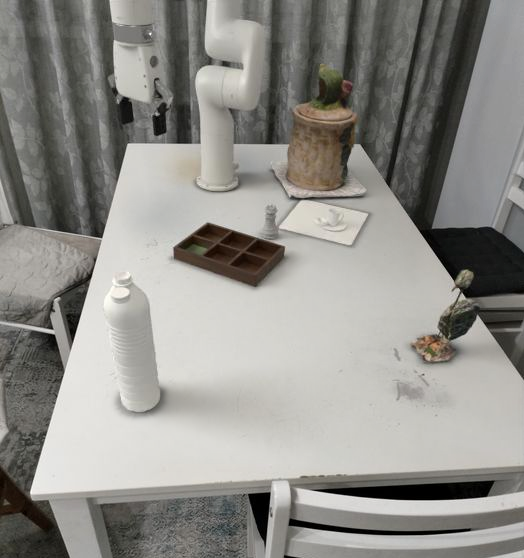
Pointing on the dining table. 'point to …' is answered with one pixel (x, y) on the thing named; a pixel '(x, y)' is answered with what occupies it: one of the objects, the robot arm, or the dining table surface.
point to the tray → (229, 253)
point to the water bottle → (132, 343)
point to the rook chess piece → (270, 223)
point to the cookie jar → (321, 143)
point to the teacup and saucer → (324, 221)
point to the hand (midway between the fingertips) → (143, 128)
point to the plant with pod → (450, 324)
